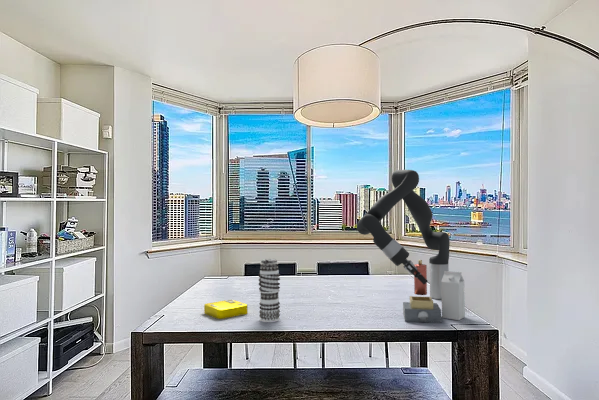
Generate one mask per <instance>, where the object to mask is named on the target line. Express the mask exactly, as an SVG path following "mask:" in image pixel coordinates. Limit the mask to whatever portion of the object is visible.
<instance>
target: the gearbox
mask: <svg viewBox="0 0 599 400" xmlns="http://www.w3.org/2000/svg"><path fill="white" fill-rule="evenodd" d="M402 315H403V320H404V322H409V323H410V322H411V323H433V324H434V323H436V324H440V323H442V308H440V306H439V304H438V303H437V302H434V300H433V298H431V297H430V296H420V295H417V296H416V295H413V296H411V295H410V296H409V301H408V302H405V301H403V302H402Z"/></svg>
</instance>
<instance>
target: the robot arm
mask: <svg viewBox="0 0 599 400" xmlns="http://www.w3.org/2000/svg"><path fill="white" fill-rule="evenodd" d="M391 183H392V186H393V187H394V189H393V190H390V191H389V192H387V193H385V194H384V195H383V194H382V196H380V197H379V198H378V199H377V200H376V201H375V202H374V204H373V205H371V207H370V208H369V210H368V211H367V212H366V213H365V214H364V215H363V216H362V217H361V218H360V219H359V220H358V222H357V223H356V230H357V232H358V233H359V234H361V235H363V236H364V235H370V234H371V236H372V238H373V239H372V242H373V244H374V245H375V246H376V247H378V249H379V250H380V251H381V252H383V254H384V256H386V257H387V258H388V259H389V260H390V261H391V262H392V263H393V264H394V265H395V266H396V267H399V266H400V265H403V269H405V271H408V273H409V274H410V275H413V277H414V276H415V278H418V279H419V280H420V281H421V282H422V283H423V284H426V283H427V284H428V279H426V278H425V277H424V276H422V275H421V273H420V272H419V271H418V269H417V268H416V267H415V266H414V262H413V261H412V260H409V259H408V258H409V256H410V253H409V252H408V250H407V249H405V248H404V247H403V245H401V244H400V243H399V241H397V240H396V239H395V238H393V236H391V235H390V234H389V233H388V232H387V231H386V230H385V228H384V226H383V224H382V223H381V222H380V221H381V220H383V219H384V218H385V217H386V216H387V215H388V214H389V212H390V211H391V210H392V209H393V208H394V207H395V206H396V205H397V204H398V203H399V202H400V201H401V200H403V202H404V204H405V205H406V207H407V209H408V211H409V212H410V215H411V216H412V217H411V218H413V220H414V222H415V223H416V226H417V227H418V230H419V232H420V234H421V237H422V238H423V241H424V243H425V246H426V247H427V248H428V249H429V250H433V251H438V253H437V254H436V255H434V256H431V257H429V260H428V262H429V263H428V264H429V268H428V269H429V297H431V298H432V299H434V300H442V292H441V281H442V278H443V275H444V271H450V268H449V259H450V245H451V244H450V243H451V240H450V236H449V234H448V233H447V232H446V231H433V230H432V228H431V223H432V220H433V212H432V209H431V208H430V205H429V204H428V202H427V201H426V199H424V198H423V197H421V196H420V195H419V194H418V193H417V192H415V191H414V190H415V189H416V188H417V187H418V185H419V183H420V176H419V173H418V172H417V171H415V170H413V169H396V170H395V171H393V172H392V174H391ZM414 267H415V268H414ZM416 271H417V272H418V273H416V274H414V273H415V272H416Z"/></svg>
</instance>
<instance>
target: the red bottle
mask: <svg viewBox="0 0 599 400" xmlns="http://www.w3.org/2000/svg"><path fill="white" fill-rule="evenodd" d="M417 262H418V263H416V264H414V263H413V264H414V266H415V267H416V268H417V269H418V271H419V272H420V273H421V275H422V276H424V277H425V278H426V279H427V273H428V270H427V269H428V268H427V264H423V260H422V259H418V261H417ZM415 267H414V268H415ZM416 273H418V272H417V271H416V272H415V273H414V274H416ZM413 278H414V279H413V283H414V284H413V286H414V287H413V288H414V295H415V296H416V295H417V296H427V295H428V282H427V283H426V284H423V283H422V282H421V281H420V280H419V279H418V278H415V276H414V275H413ZM427 280H428V279H427Z"/></svg>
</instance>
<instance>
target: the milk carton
mask: <svg viewBox="0 0 599 400" xmlns="http://www.w3.org/2000/svg"><path fill="white" fill-rule="evenodd" d="M441 292H442V299H441V319H442V318H443V319H448V320H453V321H454V320H456V321H460V320H462V319H463V318H465V317H466V314H465V313H466V311H465V310H466V309H465V305H466V303H465V280H464V278H463V275H462V272H460V271H450V270H449V271H444V275H443V278H442V281H441Z"/></svg>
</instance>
